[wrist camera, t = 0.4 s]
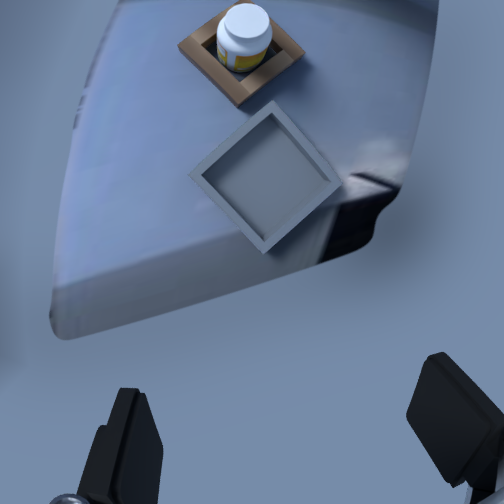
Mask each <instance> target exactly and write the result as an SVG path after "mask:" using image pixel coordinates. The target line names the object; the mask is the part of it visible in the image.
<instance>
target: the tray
mask: <svg viewBox="0 0 504 504" xmlns="http://www.w3.org/2000/svg"><path fill="white" fill-rule="evenodd" d="M188 176H189V177H190V178H191V179H192V180H193V181H194V182H195V183H196V184H197V185H198V186H199V187H200V188H201V189H202V190H203V191H204V193H205V194H206V195H207V196H208V197H209V198H210V199H211V200H212V201H213V202H214V203H215V204H216V205H217V206H218V207H219V208H220V209H221V210H222V211H223V212H224V213H225V214H226V216H227V217H228V218H229V219H230V220H231V221H232V222H233V223H234V224H235V225H236V226H237V227H238V228H239V229H240V230H241V231H242V232H243V233H244V234H245V235H246V237H247V238H248V239H249V240H250V241H251V242H252V243H253V244H254V245H255V246H256V247H257V248H258V249H259V250H260V251H261V252H262V253H263V254H265V253H266V252H267V251H268V250H269V249H270V248H271V247H273V246H274V245H275V244H276V243H277V242H278V241H279V240H280V239H281V238H283V237H284V236H285V235H286V234H287V233H288V232H289V231H290V230H292V229H293V228H294V227H295V226H296V225H297V224H298V223H299V222H301V221H302V220H303V219H304V218H305V217H306V216H307V215H308V214H309V213H311V212H312V211H313V210H314V209H315V208H316V207H317V206H318V205H319V204H321V203H322V202H323V201H324V200H325V199H326V198H327V197H328V196H329V195H331V194H332V193H333V192H334V191H335V190H336V189H337V188H338V187H339V186H341V185H342V184H343V182H342V181H341V180H340V179H339V177H338V176H337V175H336V173H335V172H334V171H333V170H332V168H331V167H330V166H329V165H328V163H327V162H326V161H325V160H324V158H323V157H322V156H321V155H320V154H319V152H318V151H317V150H316V149H315V148H314V146H313V145H312V144H311V143H310V142H309V140H308V139H307V138H306V137H305V136H304V134H303V133H302V132H301V131H300V130H299V129H298V128H297V126H296V125H295V124H294V123H293V122H292V121H291V120H290V118H289V117H288V116H287V115H286V114H285V113H284V112H283V111H282V110H281V108H280V107H279V106H278V105H277V104H276V103H275V102H274V101H273V100H272V101H270V102H269V103H268V104H267V105H266V106H264V107H263V108H262V109H261V110H259V111H258V112H257V113H256V114H255V115H254V116H252V117H251V118H250V119H249V120H248V121H246V122H245V123H244V124H243V125H242V126H241V127H239V128H238V129H237V130H236V131H235V132H234V133H233V134H231V135H230V136H229V137H228V138H227V139H226V140H225V141H223V142H222V143H221V144H220V145H219V146H218V147H217V148H216V149H215V150H214V151H212V152H211V153H210V154H209V155H208V156H207V157H206V158H205V159H204V160H203V161H202V162H201V163H199V164H198V165H197V166H196V167H195V168H194V169H193V170H192V171H191V172H190V173H189V174H188Z"/></svg>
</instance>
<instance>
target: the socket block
mask: <svg viewBox="0 0 504 504" xmlns="http://www.w3.org/2000/svg"><path fill="white" fill-rule="evenodd" d="M244 3H248V4H254V3H253V2H252V1H251V0H239V1H238V2H236V3H235V4H233V5H232V6H230V7H228V8H227V9H225V10H224V11H222V12H221V13H220V14H218V15H217V16H215V17H214V18H212V19H211V20H210V21H208V22H207V23H205V24H204V25H203V26H201V27H200V28H199V29H197V30H196V31H195V32H193V33H192V34H191V35H189V36H188V37H187V38H185V39H184V40H183V41H182V42H180V43H179V44H178V48H179V51H180V52H181V53H182V54H183V55H184V56H185V57H186V58H187V59H188V60H189V61H190V62H191V63H192V64H193V65H194V66H195V67H196V68H197V69H199V70H200V71H201V72H202V73H203V74H204V75H205V76H206V77H207V78H208V79H209V80H210V81H211V82H212V83H213V84H214V85H215V86H216V87H217V88H218V89H219V90H220V91H221V92H222V93H223V94H224V95H225V96H226V97H227V98H228V99H229V100H230V101H231V102H232V103H233V105H234V106H235V107H236V108H238V107H239V106H240V105H242V104H243V103H244V102H245V101H246V100H248V99H249V98H250V97H251V96H253V95H254V94H255V93H256V92H258V91H259V90H260V89H261V88H263V87H264V86H265V85H266V84H268V83H269V82H270V81H271V80H273V79H274V78H275V77H277V76H278V75H279V74H281V73H282V72H283V71H285V70H286V69H287V68H289V67H290V66H291V65H293V64H294V63H295V62H297V61H298V60H299V59H301V57H302V56H303V55H304V54H305V51H304V50H303V49H302V48H301V47H300V46H299V45H298V44H297V43H296V42H295V41H294V40H293V39H292V38H291V37H290V36H289V35H288V34H287V33H286V32H285V31H284V30H283V29H282V28H280V27H279V26H278V25H277V24H276V23H275V22H274V21H273V20H272V19H271V18H270V17H269V20H270V25H271V27H272V39H271V42H270V44H269V47H270V48H272V49H273V50H274V51H275V52H276V53H277V54H276V55H275V56H274V57H272V58H271V59H270V60H268V61H267V62H266V63H264V64H263V65H262V66H260V67H259V68H258V69H256V70H255V71H254V72H252V73H251V74H250V75H249V76H247V77H246V78H245V79H243V80H242V81H241V82H239V81H238V80H237V79H236V78H235V77H234V76H233V75H232V74H231V73H230V72H229V71H228V70H227V69H226V68H225V67H224V66H222V65H221V64H220V63H219V62H218V61H217V60H216V59H215V58H214V57H213V56H212V55H211V54H210V53H209V52H208V51H207V50H206V48H207V47H208V46H210V45H211V44H212V43H214V42H215V41H216V40H217V28H218V25H219V23H220V21H221V20H222V19H223V17H225V16H226V14H227V12H228V11H229V10H230V9H231V8H232V7H234V6H236V5H239V4H244ZM254 5H255V4H254Z"/></svg>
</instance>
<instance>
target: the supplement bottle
mask: <svg viewBox="0 0 504 504" xmlns="http://www.w3.org/2000/svg"><path fill="white" fill-rule="evenodd" d="M271 39H272V27H271V25H270V20H269V16H268V14H267V13H266V11H265V10H264V9H262V8H261V7H259V6H257V5H254V4H248V3H244V4H239V5H236V6H234V7H232V8H231V9H230V10H229V11H228V12H227V14H226V16H225V17H223V19H222V20H221V21H220V23H219V25H218V28H217V53H218V58H219V60H220V62H221V63H222V65H223V66H224V67H226V68H227V69H229V70H231V71H234V72H248V71H251V70H253V69H255V68H256V67H257V66H258V65H259V64H260V63H261V62H262V60H263V58H264V56H265V53H266V51H267V49H268V46H269V44H270V42H271Z"/></svg>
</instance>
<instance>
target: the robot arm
mask: <svg viewBox="0 0 504 504" xmlns="http://www.w3.org/2000/svg"><path fill="white" fill-rule="evenodd" d="M406 417H407V421H408V422H409V424H410V426H411V427H412V429H413V430H414V432H415V433H416V435H417V437H418V438H419V440H420V441H421V443H422V444H423V446H424V448H425V449H426V451H427V452H428V454H429V456H430V457H431V459H432V461H433V462H434V464H435V465H436V467H437V468H438V470H439V472H440V474H441V475H442V477H443V478H444V480H445V481H446V482H447V483H450V484H451V486H452V488H454V487H456V486H458V485H460V484H462V483H464V482H465V480H466V481H467V483H468V488H467V493H466V498H465V503H464V504H504V414H503V413H502V412H501V410H500V409H499V408H498V407H497V406H496V405H495V404H494V403H493V402H492V401H491V400H490V399H489V397H487V396H486V394H485V393H484V392H483V391H482V390H481V389H480V388H479V387H478V386H477V385H476V384H475V383H474V382H473V381H472V379H471V378H470V377H469V376H468V375H467V374H466V373H465V372H464V371H463V370H462V369H461V368H460V367H459V366H458V365H457V364H456V363H455V362H454V361H453V360H452V359H451V358H450V357H449V356H448V355H447V354H446V353H444V352H440V353H436V354H433V355H430V356H428V357H427V360H426V361H425V362H424V364H423V367H422V370H421V373H420V376H419V379H418V382H417V385H416V388H415V391H414V394H413V397H412V400H411V402H410V405H409V407H408V410H407V413H406ZM162 460H163V445H162V442H161V439H160V436H159V434H158V431H157V428H156V425H155V422H154V419H153V416H152V413H151V410H150V407H149V404H148V401H147V398H146V395H145V393H140V391H139V389H137V388H120V389H119V391H118V394H117V397H116V400H115V402H114V405H113V408H112V411H111V414H110V417H109V420H108V423H107V425H101V426H100V427H99V428H98V430H97V432H96V435H95V438H94V441H93V444H92V446H91V449H90V452H89V455H88V459H87V462H86V465H85V468H84V471H83V474H82V477H81V481H80V484H79V487H78V491H77V494H62V495H59V496H57V497H55V498H54V499H53V500H52V501H51V502H50V503H49V504H157V503H158V494H159V485H160V476H161V468H162Z"/></svg>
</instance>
